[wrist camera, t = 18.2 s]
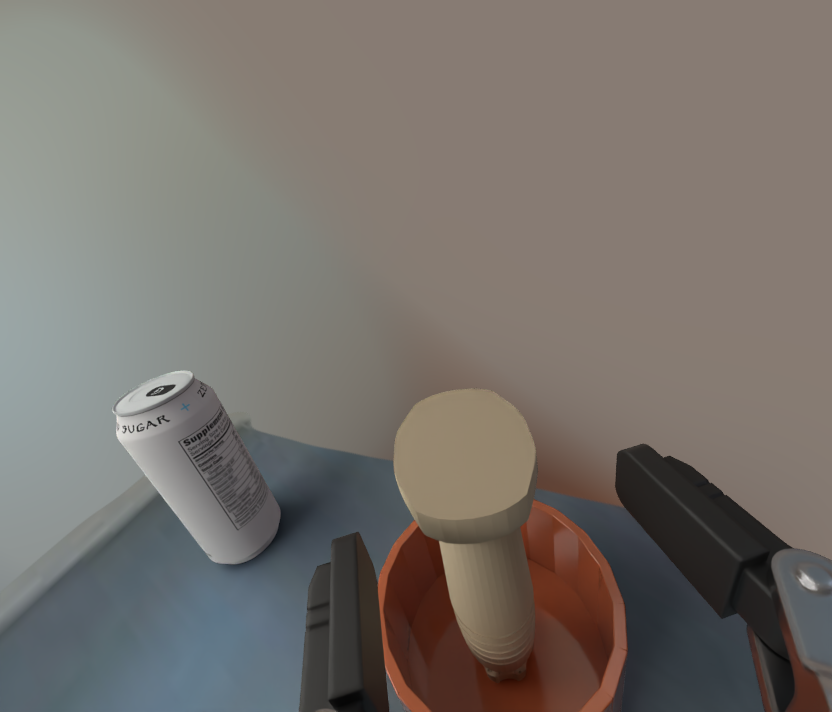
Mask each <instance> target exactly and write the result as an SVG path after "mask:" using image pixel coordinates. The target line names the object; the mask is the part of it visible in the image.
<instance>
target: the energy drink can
mask: <svg viewBox="0 0 832 712" xmlns="http://www.w3.org/2000/svg"><path fill="white" fill-rule="evenodd" d="M112 411H113V413H114V414H116V415H117V426H116V435H117V438H118V440H119V441H120V442H121V443H122V445H123V446H124V447H125V449H126V450H127V451H128V453H129V454H130V455H131V457H132V458H133V459H134V460H135V462H136V463H137V464H138V466H139V467H140V468H141V470H142V471H143V472H144V473H145V475H146V476H147V477H148V479H149V480H150V481H151V483H152V484H153V485H154V487H155V488H156V489H157V490H158V492H159V493H160V494H161V496H162V497H163V498H164V500H165V501H166V502H167V503H168V505H169V506H170V507H171V509H172V510H173V511H174V513H175V514H176V515H177V516H178V518H179V519H180V520H181V522H182V523H183V524H184V526H185V527H186V528H187V529H188V531H189V532H190V533H191V535H192V536H193V537H194V539H195V540H196V541H197V542H198V544H199V545H200V546H201V548H202V549H203V550H204V552H205V553H206V554H207V556H208V557H209V558H210V559H211V560H212V561H214V562H216V563H220V564H240V563H243V562H246V561H248V560H251V559H252V558H254V557H256V556H257V555H259V554H260V553H261V552H262V551H263V550H264V549H265V548H266V547H267V546H268V545H269V544H270V543H271V542H272V540H273V538H274V537H275V535H276V533H277V530H278V525H279V521H280V516H281V511H280V508H279V505H278V503H277V502H276V500H275V498H274V496H273V495H272V493H271V491H270V489H269V487H268V486H267V484H266V482H265V480H264V479H263V477H262V475H261V473H260V471H259V470H258V468H257V466H256V464H255V463H254V461H253V459H252V457H251V456H250V454H249V452H248V450H247V448H246V447H245V445H244V443H243V441H242V440H241V438H240V436H239V434H238V432H237V431H236V429H235V427H234V425H233V424H232V422H231V420H230V418H229V417H228V415H227V413H226V411H225V409H224V408H223V406H222V404H221V402H220V401H219V399H218V397H217V395H216V394H215V392H214V390H213V389H212V388H211V387H209V386H208V385H206V384H204V383H202V382H201V381H199V380H197V379H195V378H194V375H193V374H192V372H190V371H176V372H171V373H167V374H164V375H161V376H158V377H156V378H153V379H151V380H148V381H146V382H144V383H142V384H140V385H138V386H136V387H135V388H133V389H131V390H130V391H128V392H127V393H125V394H124V395H122V396H121V397H120V398H119V399H118V400H117V401H116V402H115V403H114V404H113V406H112Z"/></svg>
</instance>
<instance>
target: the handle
mask: <svg viewBox="0 0 832 712" xmlns="http://www.w3.org/2000/svg"><path fill="white" fill-rule="evenodd" d="M393 463H394V473H395V477H396V480H397V484H398V487H399V490H400V492H401V495H402V497H403V499H404V501H405V503H406V505H407V507H408V508H409V510H410V512H411V514H412V516H413V518H414V519H415V521H416V523H417V524H418V526H419V527H420V529H421V530H422V532H423V533H424V535H426V536H428V537H430V538H432V539H435V540H438V541H439V544H440V549H441V554H442V559H443V564H444V569H445V574H446V580H447V585H448V590H449V595H450V600H451V603H452V606H453V609H454V613H455V616H456V619H457V622H458V625H459V627H460V629H461V632H462V634H463V637H464V639H465V641H466V643H467V645H468V647H469V649H470V650H471V652H472V654H473V655H474V657H475V658H476V659H477V660H478V661H479V662H480V663H481V664H482V665H483V666H484V667H485V669H486V672H487V675H488V677H489V678H490V680H492V681H493V682H496V683H500V681H502V680H504V679H516V680H517V681H520V680H522V679H523V678H524V677H525V676H526V663H527V659H528V658H529V656H530V654H531V652H532V651H533V647H534V636H535V604H534V592H533V585H532V580H531V576H530V571H529V566H528V562H527V557H526V552H525V548H524V543H523V538H522V533H521V528H520V527H521V526H522V525H523V524H524V523H525V522H526V521H528V519H529V515H530V512H531V508H532V504H533V500H534V495H535V489H536V482H537V473H538V467H537V456H536V449H535V445H534V441H533V438H532V435H531V433H530V431H529V428H528V426H527V424H526V421H525V419H524V418H523V416H522V415H521V413H520V412H519V411H518V410H517V409H516V408H515V407H514V406H513V405H512V404H510V403H509V402H507V401H506V400H505V399H503V398H502V397H500V396H499V395H497V394H496V393H495V392H493V391H490V390H485V389H460V390H454V391H448V392H444V393H440V394H437V395H434V396H431V397H429V398H426V399H424V400H422V401H420V402H419V403H417V404H415V405H414V407H413V408H412V410H411V411H410V412H409V414H408V415H407V417H406V418H405V420H404V421H403V423H402V424H401V426H400V428H399V430H398V432H397V434H396V439H395V447H394V461H393Z"/></svg>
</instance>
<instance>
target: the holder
mask: <svg viewBox="0 0 832 712" xmlns="http://www.w3.org/2000/svg"><path fill="white" fill-rule="evenodd" d="M520 528H521V533H522V538H523V543H524V548H525V552H526V557H527V562H528V566H529V571H530V576H531V580H532V585H533V592H534V604H535V636H534V647H533V651H532V652H531V654H530V656H529V658H528V659H527V663H526V676H525V677H524V678H523V679H522V680H520V681H517V680H516V679H504V680H502V681H500V683H496V682H493V681H492V680H490V678H489V677H488V675H487V672H486V669H485V667H484V666H483V665H482V664H481V663H480V662H479V661H478V660H477V659H476V658H475V657H474V655H473V654H472V652H471V650H470V649H469V647H468V645H467V643H466V641H465V639H464V637H463V634H462V632H461V629H460V627H459V625H458V622H457V619H456V616H455V613H454V609H453V606H452V603H451V600H450V595H449V590H448V585H447V580H446V574H445V569H444V564H443V559H442V554H441V549H440V544H439V541H438V540H435V539H432V538H430V537H428V536H426V535H424V533H423V532H422V530H421V529H420V527H419V526H418V524H417V523H416V521H415V520H414V521H413V522H412V523H411V524H410V526H409V527H408V528H407V529H406V530H405V531H404V532H403V534H402V535H401V536H400V537H399V538H398V539H397V541H396V542H395V543H394V545H393V547H392V549H391V551H390V553H389V555H388V557H387V560H386V562H385V564H384V566H383V568H382V570H381V572H380V576H379V582H378V597H379V608H380V618H381V629H382V640H383V650H384V661H385V669H386V672H387V674H388V676H389V678H390V681H391V683H392V685H393V687H394V690H395V692H396V694H397V696H398V698H399V700H400V702H401V704H402V706H403V707H404V709H405V711H406V712H621V707H622V698H623V690H624V681H625V672H626V663H627V655H628V643H627V626H626V609H625V603H624V600H623V598H622V595H621V593H620V590H619V587H618V585H617V582H616V580H615V577H614V574H613V572H612V569H611V567H610V565H609V563H608V561H607V560H606V559H605V557H604V556H603V555H602V553H601V552H600V551H599V549H598V548H597V547H596V545H595V544H594V543H593V541H592V540H591V539H590V537H589V536H588V535H587V533H586V532H585V531H584V530H582V529H581V528H580V527H579V526H577V525H576V524H575V523H574V522H572V521H571V520H570V519H568V518H567V517H566V516H565V515H563V514H562V513H561V512H560V511H558V510H557V509H555V508H553V507H550V506H548V505H546V504H544V503H541V502H539V501H537V500H535V499H534V500H533V504H532V508H531V512H530V515H529V519H528V521H526V522H525V523H524V524H523V525H522V526H521V527H520Z"/></svg>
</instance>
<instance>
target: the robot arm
mask: <svg viewBox="0 0 832 712" xmlns="http://www.w3.org/2000/svg"><path fill="white" fill-rule="evenodd" d="M615 487H616V492H617V494H618V497H619V499H620V501H621V503H622V504H623V506H624V507H625V508H626V509H627V510H628V512H629V513H630V514H631V515H632V516H633V517H634V518H635V520H636V521H637V522H638V523H639V524H640V525H641V526H642V528H643V529H644V530H645V531H646V532H647V533H648V535H649V536H650V537H651V538H652V539H653V540H654V541H655V543H656V544H657V545H658V546H659V547H660V548H661V550H662V551H663V552H664V553H665V554H666V555H667V556H668V558H669V559H670V560H671V561H672V562H673V563H674V564H675V566H676V567H677V568H678V569H679V570H680V571H681V573H682V574H683V575H684V576H685V577H686V578H687V579H688V581H689V582H690V583H691V584H692V585H693V586H694V588H695V589H696V590H697V591H698V592H699V593H700V594H701V596H702V597H703V598H704V599H705V600H706V601H707V602H708V604H709V605H710V606H711V607H712V608H713V609H714V611H715V612H716V613H717V614H718V615H719V616H720V617H721V619H723V618H725V617H728V616H731V615H734V614H737V613H738V614H739V615H740V616H741V617H742V618H743V619H744V620H745V621H746V623H747V635H748V639H749V644H750V648H751V653H752V657H753V662H754V666H755V671H756V675H757V680H758V684H759V689H760V693H761V698H762V702H763V707H764V711H765V712H832V561H831V560H830V559H828V558H826V557H823V556H821V555H819V554H816V553H813V552H810V551H806V550H801V549H794V548H792V547H791V546H789V545H787V544H786V543H785V542H783V541H782V540H781V539H780V538H778V537H777V536H776V535H775V534H773V533H772V532H771V531H770V530H769V529H767V528H766V527H765V526H764V525H762V524H761V523H760V522H759V521H758V520H756V519H755V518H754V517H753V516H751V515H750V514H749V513H748V512H747V511H745V510H744V509H743V508H742V507H740V506H739V505H738V504H737V503H736V502H734V501H733V500H732V499H731V498H730V497H728V496H727V495H724V494H723V492H722V491H721V490H720V489H719V488H717V487H716V486H715V485H714V484H712V483H709V481H708V480H707V479H706V478H705V477H704V476H703V475H701V474H700V473H699V472H698V471H696V470H695V469H694V468H693V467H691V466H690V465H688V464H686V463H684V462H682V461H679V460H677V459H675V458H673V457H671V456H667V457H664V458H663V457H662V456H660V454H658V453H657V452H656V451H655V450H654V449H652V448H651V447H650V446H648V445H646V444H640V445H637V446H634V447H631V448H627V449H624V450H621V451H619V452H618V454H617V465H616V482H615ZM307 611H308V613H307V616H306V632H305V642H304V655H303V669H302V682H301V695H300V706H299V712H389V704H388V693H387V683H386V672H385V661H384V650H383V640H382V629H381V618H380V608H379V597H378V587H377V579H376V574H375V570H374V566H373V563H372V561H371V559H370V556H369V554H368V552H367V549H366V547H365V545H364V543H363V540H362V538H361V536H360V534H359V532H356V533H352V534H349V535H346V536H343V537H340V538H336V539H333V540H332V544H331V562H329V563H326V564H323V565H320V566H317V568H316V571H315V573H314V576H313V578H312V580H311V583H310V585H309V589H308V602H307Z"/></svg>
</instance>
